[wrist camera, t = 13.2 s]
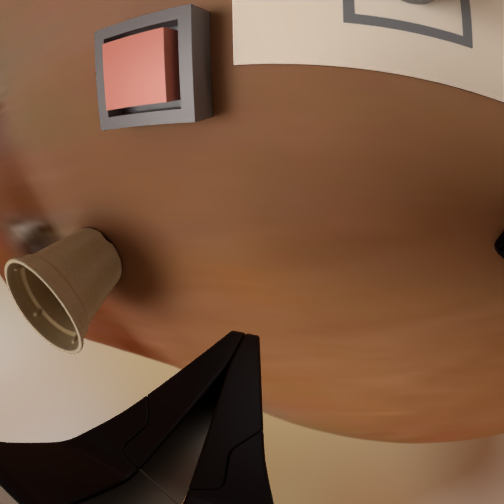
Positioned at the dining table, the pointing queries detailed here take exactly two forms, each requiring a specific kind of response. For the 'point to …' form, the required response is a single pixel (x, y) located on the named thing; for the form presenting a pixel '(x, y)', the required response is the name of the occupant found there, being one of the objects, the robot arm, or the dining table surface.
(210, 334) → the dining table surface
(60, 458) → the robot arm
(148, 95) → the button
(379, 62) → the paper sheet
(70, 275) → the flower pot
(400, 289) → the dining table surface
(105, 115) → the button housing
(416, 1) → the grey cylinder
